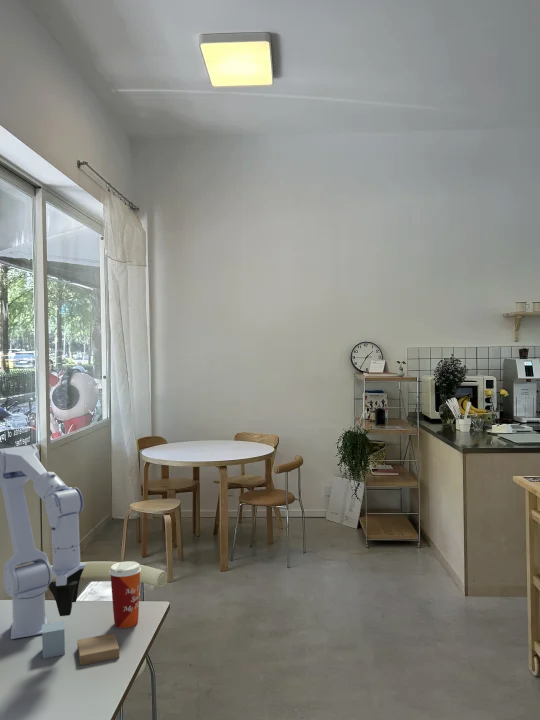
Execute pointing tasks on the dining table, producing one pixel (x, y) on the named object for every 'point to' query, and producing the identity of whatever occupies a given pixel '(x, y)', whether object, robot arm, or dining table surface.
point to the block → (53, 639)
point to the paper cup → (125, 593)
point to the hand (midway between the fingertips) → (68, 608)
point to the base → (98, 649)
